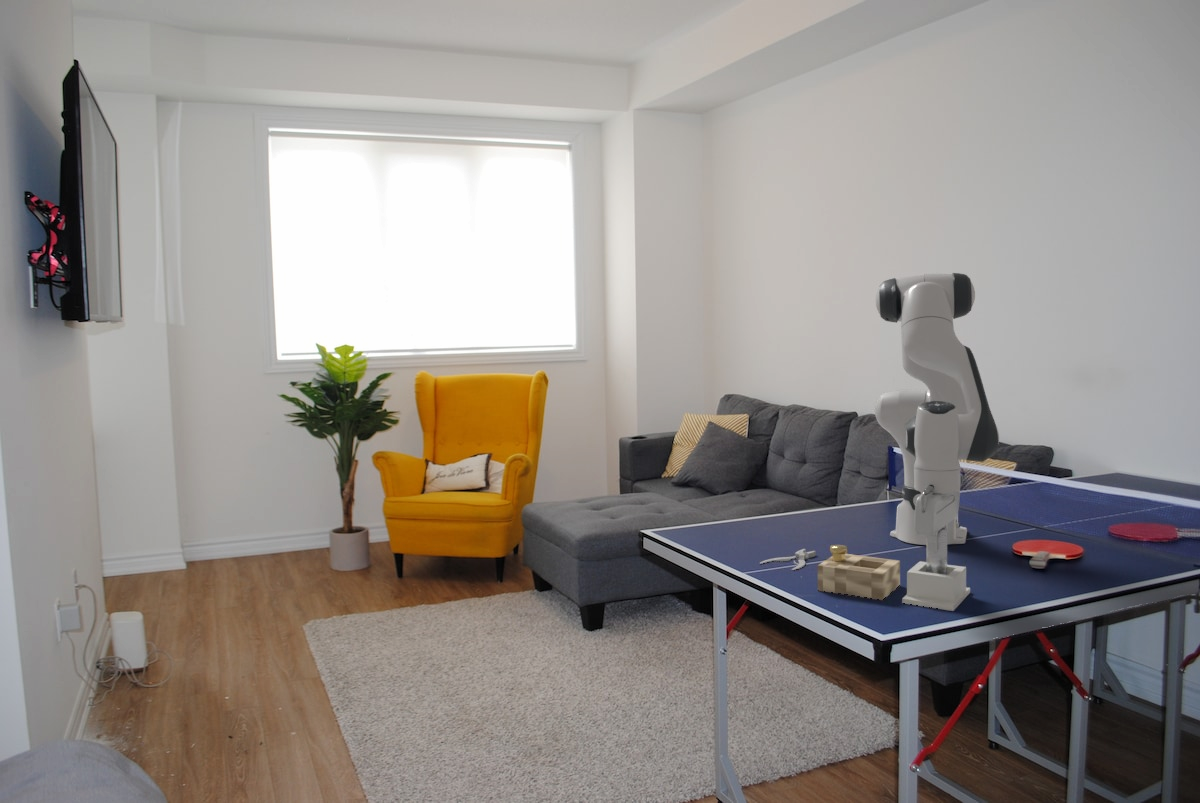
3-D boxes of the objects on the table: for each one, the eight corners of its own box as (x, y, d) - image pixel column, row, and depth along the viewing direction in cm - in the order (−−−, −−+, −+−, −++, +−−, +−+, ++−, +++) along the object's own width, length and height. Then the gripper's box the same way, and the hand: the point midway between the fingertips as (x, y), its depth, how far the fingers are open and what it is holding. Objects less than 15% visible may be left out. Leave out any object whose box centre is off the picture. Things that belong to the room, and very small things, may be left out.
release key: (833, 580, 201) (833, 543, 200) (849, 582, 199) (849, 545, 198) (827, 584, 198) (827, 547, 197) (843, 586, 196) (843, 549, 195)
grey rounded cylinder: (929, 582, 190) (929, 526, 189) (949, 585, 188) (949, 528, 187) (924, 587, 187) (924, 530, 186) (944, 590, 185) (944, 532, 184)
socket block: (837, 576, 205) (837, 552, 204) (900, 585, 197) (900, 560, 196) (817, 590, 195) (817, 565, 195) (882, 600, 187) (882, 574, 187)
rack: (921, 585, 196) (921, 558, 196) (970, 592, 191) (970, 564, 190) (902, 603, 185) (902, 574, 184) (953, 611, 179) (953, 581, 179)
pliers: (758, 559, 217) (792, 546, 228) (758, 565, 217) (792, 552, 228) (793, 566, 210) (827, 552, 221) (794, 572, 210) (827, 559, 221)
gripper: (939, 491, 175) (939, 561, 177) (965, 474, 192) (964, 538, 193) (906, 489, 179) (906, 557, 180) (934, 472, 196) (934, 535, 197)
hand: (936, 547), depth 187 cm, fingers closed on grey rounded cylinder, 4 cm apart
